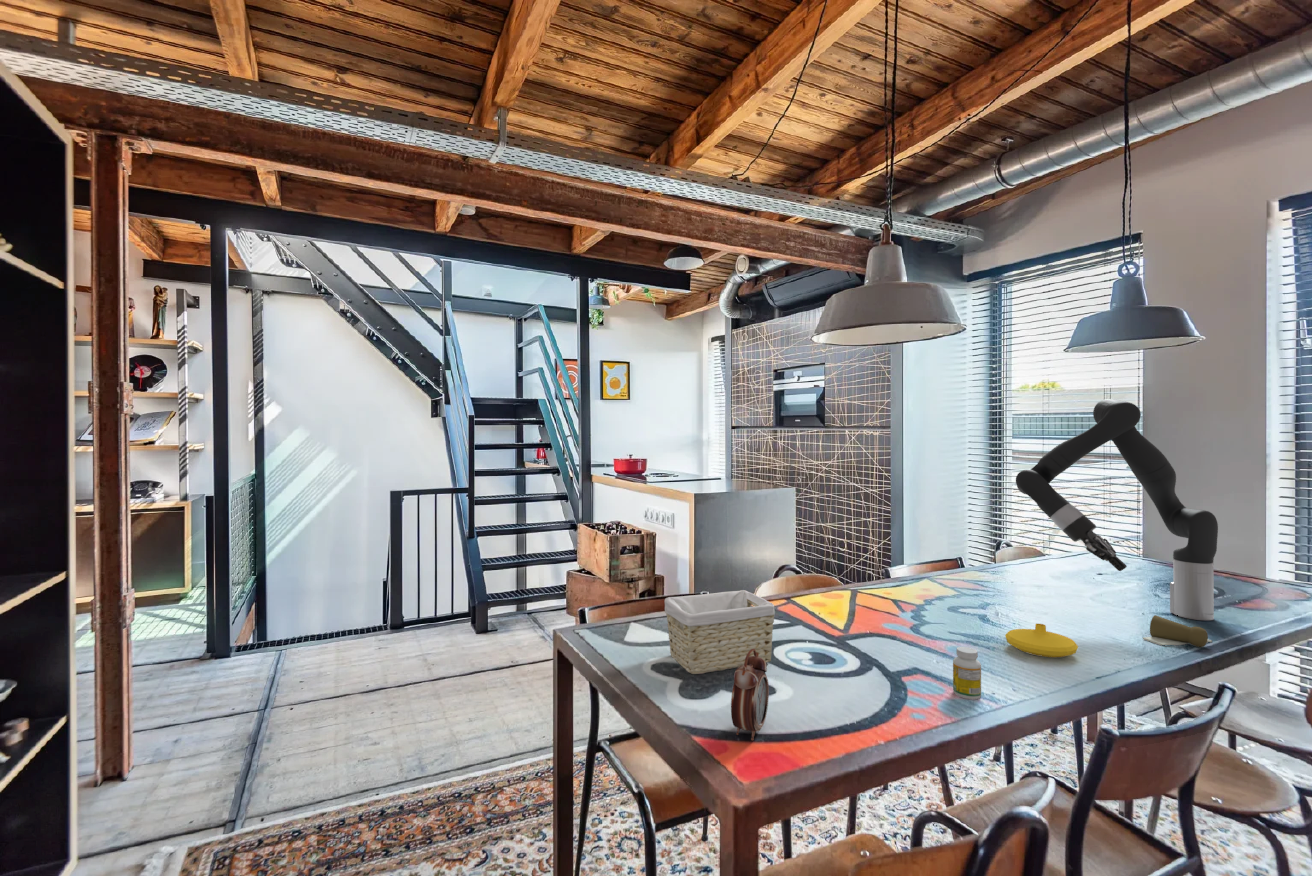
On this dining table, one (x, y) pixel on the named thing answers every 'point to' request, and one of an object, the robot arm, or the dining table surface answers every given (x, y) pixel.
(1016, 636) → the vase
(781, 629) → the dining table surface
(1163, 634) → the cork
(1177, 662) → the dining table surface
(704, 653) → the storage basket
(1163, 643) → the pad
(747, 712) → the alarm clock
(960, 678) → the supplement bottle
